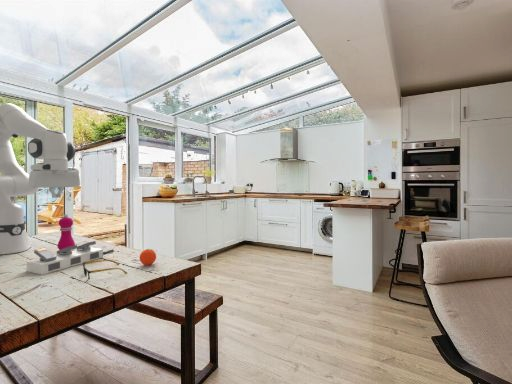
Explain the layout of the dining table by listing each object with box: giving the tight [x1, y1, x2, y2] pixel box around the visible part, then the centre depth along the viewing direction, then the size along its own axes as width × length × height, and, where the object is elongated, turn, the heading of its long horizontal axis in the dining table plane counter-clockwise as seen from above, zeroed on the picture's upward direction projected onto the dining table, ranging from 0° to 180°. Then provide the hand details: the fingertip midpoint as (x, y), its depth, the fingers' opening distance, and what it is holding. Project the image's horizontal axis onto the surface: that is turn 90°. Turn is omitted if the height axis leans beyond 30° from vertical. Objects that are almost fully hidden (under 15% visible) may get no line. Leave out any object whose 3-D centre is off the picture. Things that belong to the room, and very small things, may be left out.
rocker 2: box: [56, 244, 78, 254], centre depth 125 cm, size 8×4×2 cm, turn 67°
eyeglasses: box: [82, 259, 128, 280], centre depth 115 cm, size 14×14×4 cm
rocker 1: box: [33, 247, 57, 262], centre depth 117 cm, size 8×4×2 cm, turn 68°
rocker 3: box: [76, 240, 97, 250], centre depth 133 cm, size 8×4×2 cm, turn 67°
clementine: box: [139, 248, 158, 266], centre depth 125 cm, size 8×7×7 cm
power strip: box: [26, 246, 115, 275], centre depth 130 cm, size 10×37×5 cm, turn 158°
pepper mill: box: [57, 213, 76, 251], centre depth 140 cm, size 7×7×20 cm
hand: (56, 197), depth 127 cm, fingers closed
